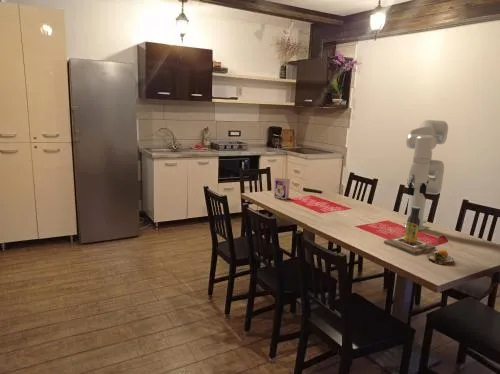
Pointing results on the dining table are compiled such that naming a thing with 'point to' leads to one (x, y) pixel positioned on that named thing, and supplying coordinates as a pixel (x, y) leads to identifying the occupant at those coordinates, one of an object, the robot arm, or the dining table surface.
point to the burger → (440, 257)
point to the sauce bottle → (412, 226)
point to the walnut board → (409, 246)
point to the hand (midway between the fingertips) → (416, 194)
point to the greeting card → (281, 188)
